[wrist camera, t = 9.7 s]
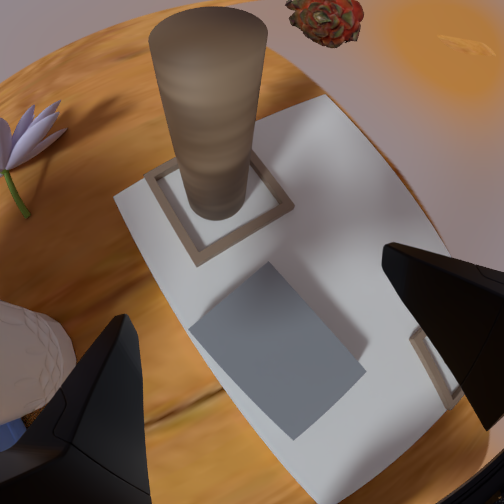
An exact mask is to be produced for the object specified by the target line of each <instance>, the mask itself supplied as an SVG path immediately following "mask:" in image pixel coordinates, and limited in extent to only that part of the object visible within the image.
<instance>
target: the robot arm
mask: <svg viewBox="0 0 504 504" xmlns="http://www.w3.org/2000/svg"><path fill="white" fill-rule="evenodd" d="M381 265H382V269H383V271H384V273H385V275H386V276H387V278H388V279H389V281H390V283H391V284H392V286H393V288H394V289H395V291H396V293H397V294H398V296H399V297H400V299H401V301H402V302H403V303H404V305H405V306H406V308H407V309H408V310H409V312H410V313H411V314H412V316H413V317H414V319H415V320H416V321H417V323H418V324H419V325H420V327H421V328H422V330H423V331H424V333H425V334H426V335H427V337H428V338H429V340H430V341H431V343H432V344H433V346H434V347H435V348H436V350H437V351H438V353H439V354H440V356H441V357H442V359H443V360H444V362H445V364H446V365H447V367H448V368H449V370H450V371H451V373H452V374H453V376H454V377H455V379H456V381H457V382H458V384H459V385H460V386H461V389H462V391H463V392H464V394H465V396H466V397H467V399H468V401H469V402H470V404H471V406H472V407H473V409H474V411H475V413H476V414H477V416H478V418H479V420H480V421H481V423H482V425H483V427H484V428H485V430H486V431H488V430H489V429H490V428H491V427H492V426H494V425H495V424H496V423H497V422H498V421H499V420H500V419H501V418H502V417H503V416H504V272H501V271H497V270H493V269H490V268H486V267H483V266H479V265H474V264H472V263H469V262H465V261H462V260H458V259H455V258H452V257H448V256H445V255H441V254H437V253H434V252H430V251H427V250H423V249H419V248H415V247H412V246H408V245H404V244H400V243H396V242H391V243H388V244H385V245H384V246H383V251H382V262H381ZM0 504H152V501H151V496H150V487H149V479H148V469H147V459H146V446H145V431H144V410H143V377H142V368H141V359H140V350H139V339H138V334H137V332H136V330H135V328H134V326H133V324H132V322H131V320H130V318H129V316H128V315H127V314H121V315H117V316H115V317H114V318H113V319H112V320H111V321H110V323H109V324H108V325H107V326H106V327H105V329H104V330H103V331H102V332H101V334H100V335H99V336H98V338H97V339H96V340H95V341H94V343H93V344H92V345H91V346H90V348H89V349H88V350H87V352H86V353H85V354H84V355H83V357H82V358H81V359H80V361H79V362H78V363H77V365H76V366H75V367H74V369H73V370H72V371H71V373H70V374H69V375H68V377H67V378H66V379H65V381H64V382H63V383H62V385H61V387H60V388H59V389H58V390H57V392H56V393H55V394H54V396H53V397H52V399H51V400H50V401H49V403H48V404H47V405H46V407H45V408H44V409H43V410H42V412H41V413H40V414H39V415H38V417H37V418H36V419H35V420H34V421H33V423H32V424H31V425H30V426H29V427H28V429H27V430H26V431H25V432H24V434H23V435H22V436H21V437H20V439H19V440H18V441H17V442H16V443H15V444H14V445H13V446H12V447H10V448H9V449H7V450H5V451H2V452H0ZM436 504H504V449H503V450H502V451H501V452H499V454H497V455H496V456H495V457H494V458H493V459H492V460H491V461H490V462H489V463H488V464H486V465H485V466H484V467H483V468H482V469H481V470H479V471H478V472H477V473H476V474H475V475H473V476H472V477H471V478H470V479H469V480H467V481H466V482H465V483H463V484H462V485H461V486H460V487H458V488H457V489H456V490H454V491H453V492H451V493H450V494H449V495H447V496H446V497H444V498H443V499H442V500H440V501H439V502H437V503H436Z"/></svg>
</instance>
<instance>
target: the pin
mask: <svg viewBox="0 0 504 504" xmlns="http://www.w3.org/2000/svg"><path fill="white" fill-rule="evenodd" d="M267 36H268V30H267V27H266V25H265V24H264V23H263V21H261V20H260V19H259V18H258V17H256V16H254V15H253V14H251V13H248V12H246V11H243V10H239V9H235V8H229V7H214V6H213V7H200V8H194V9H189V10H185V11H182V12H179V13H176V14H174V15H172V16H170V17H168V18H166V19H164V20H163V21H161V22H160V23H159V24H158V25H157V26H155V28H154V29H153V30H152V31H151V33H150V35H149V41H148V42H149V47H150V51H151V56H152V61H153V65H154V70H155V74H156V78H157V83H158V87H159V91H160V96H161V100H162V104H163V108H164V112H165V116H166V120H167V124H168V128H169V132H170V136H171V140H172V144H173V148H174V151H175V155H176V159H177V163H178V166H179V170H180V174H181V177H182V181H183V184H184V188H185V192H186V195H187V199H188V202H189V205H190V207H191V209H192V210H193V211H194V212H195V213H196V214H197V215H198V216H200V217H202V218H204V219H207V220H211V221H220V220H225V219H228V218H230V217H232V216H233V215H235V214H236V213H237V212H238V211H239V210H240V209H241V207H242V206H243V204H244V201H245V195H246V188H247V180H248V172H249V165H250V157H251V150H252V142H253V135H254V127H255V120H256V113H257V105H258V98H259V91H260V84H261V77H262V70H263V63H264V56H265V50H266V43H267Z"/></svg>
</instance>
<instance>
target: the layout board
mask: <svg viewBox="0 0 504 504" xmlns="http://www.w3.org/2000/svg"><path fill="white" fill-rule="evenodd" d="M143 176H144V178H143V179H141V180H140V181H138V182H136V183H135V184H133V185H131V186H130V187H128V188H126V189H125V190H123V191H121V192H120V193H118V194H117V195H115V196H113V198H114V200H115V202H116V204H117V206H118V209H119V211H120V213H121V215H122V217H123V219H124V221H125V223H126V225H127V227H128V229H129V231H130V233H131V235H132V237H133V239H134V241H135V243H136V245H137V247H138V249H139V250H140V252H141V254H142V256H143V258H144V260H145V262H146V264H147V265H148V267H149V269H150V271H151V273H152V275H153V276H154V278H155V280H156V282H157V283H158V285H159V287H160V289H161V290H162V292H163V294H164V296H165V297H166V299H167V301H168V303H169V304H170V306H171V308H172V309H173V311H174V313H175V314H176V316H177V318H178V319H179V321H180V323H181V324H182V326H183V327H184V329H185V331H186V332H187V334H188V335H189V337H190V339H191V340H192V342H193V343H194V345H195V346H196V348H197V349H198V351H199V353H200V354H201V356H202V357H203V359H204V360H205V362H206V363H207V365H208V366H209V368H210V369H211V371H212V372H213V374H214V375H215V376H216V378H217V379H218V381H219V382H220V384H221V385H222V387H223V388H224V389H225V391H226V392H227V394H228V395H229V396H230V398H231V399H232V401H233V402H234V403H235V405H236V406H237V407H238V409H239V410H240V411H241V413H242V414H243V415H244V417H245V418H246V419H247V421H248V422H249V423H250V425H251V426H252V427H253V429H254V430H255V431H256V432H257V434H258V435H259V436H260V438H261V439H262V440H263V441H264V443H265V444H266V445H267V446H268V448H269V449H270V450H271V451H272V452H273V454H274V455H275V456H276V457H277V458H278V460H279V461H280V462H281V463H282V464H283V466H284V467H285V468H286V469H287V470H288V471H289V473H290V474H291V475H292V476H293V477H294V478H295V479H296V481H297V482H298V483H299V484H300V485H301V486H302V487H303V488H304V489H305V491H306V492H307V493H308V494H309V495H310V496H311V497H312V498H313V499H314V500H315V501H316V502H317V503H318V504H337V503H339V502H340V501H342V500H343V499H345V498H346V497H348V496H349V495H351V494H352V493H354V492H355V491H356V490H358V489H359V488H361V487H362V486H363V485H365V484H366V483H367V482H369V481H370V480H371V479H373V478H374V477H375V476H377V475H378V474H379V473H380V472H382V471H383V470H384V469H385V468H387V467H388V466H389V465H390V464H392V463H393V462H394V461H395V460H396V459H397V458H399V457H400V456H401V455H402V454H403V453H404V452H405V451H406V450H408V449H409V448H410V447H411V446H412V445H413V444H414V443H415V442H416V441H417V440H418V439H419V438H420V437H421V436H422V435H424V434H425V433H426V432H427V431H428V430H429V429H430V428H431V426H432V425H433V424H434V423H435V422H436V421H437V420H438V419H439V418H440V417H441V416H442V415H443V414H444V413H445V412H446V410H452V409H453V407H454V406H455V405H456V404H457V403H458V402H459V400H460V399H461V398H462V397H463V396H464V392H463V391H462V389H461V386H460V385H459V384H458V382H457V381H456V379H455V377H454V376H453V374H452V373H451V371H450V370H449V368H448V367H447V365H446V364H445V363H444V361H443V359H442V357H441V356H440V354H439V353H438V351H437V350H436V348H435V347H434V346H433V344H432V343H431V341H430V340H429V338H428V337H427V335H426V334H425V333H424V331H423V330H422V328H421V327H420V325H419V324H418V323H417V321H416V320H415V319H414V317H413V316H412V314H411V313H410V312H409V310H408V309H407V308H406V306H405V305H404V303H403V302H402V301H401V299H400V297H399V296H398V294H397V293H396V291H395V289H394V288H393V286H392V284H391V283H390V281H389V279H388V278H387V276H386V275H385V273H384V271H383V269H382V265H381V262H382V251H383V246H384V245H385V244H388V243H391V242H396V243H400V244H404V245H408V246H412V247H415V248H419V249H423V250H427V251H430V252H434V253H437V254H441V255H445V256H448V257H451V255H450V253H449V252H448V250H447V248H446V247H445V245H444V243H443V242H442V240H441V238H440V237H439V235H438V234H437V232H436V230H435V229H434V227H433V226H432V224H431V223H430V221H429V220H428V218H427V217H426V215H425V214H424V212H423V211H422V209H421V208H420V206H419V205H418V203H417V202H416V201H415V199H414V198H413V196H412V195H411V194H410V192H409V191H408V189H407V188H406V187H405V185H404V184H403V183H402V181H401V180H400V179H399V177H398V176H397V175H396V174H395V172H394V171H393V170H392V168H391V167H390V166H389V165H388V163H387V162H386V161H385V160H384V158H383V157H382V156H381V155H380V153H379V152H378V151H377V150H376V149H375V147H374V146H373V145H372V144H371V143H370V142H369V140H368V139H367V138H366V137H365V136H364V135H363V134H362V132H361V131H360V130H359V129H358V128H357V127H356V126H355V125H354V124H353V122H352V121H351V120H350V119H349V118H348V117H347V116H346V115H345V114H344V113H343V112H342V111H341V110H340V109H339V108H338V107H337V105H336V104H335V103H334V102H333V101H332V100H331V99H330V98H329V97H328V96H327V95H326V94H324V95H321V96H319V97H316V98H313V99H310V100H308V101H305V102H302V103H300V104H297V105H294V106H292V107H289V108H287V109H284V110H282V111H279V112H277V113H274V114H272V115H269V116H267V117H265V118H262V119H260V120H258V121H255V127H254V135H253V142H252V150H251V157H250V165H249V172H248V180H247V188H246V195H245V201H244V204H243V206H242V207H241V209H240V210H239V211H238V212H237V213H236V214H235V215H233V216H232V217H230V218H228V219H225V220H220V221H211V220H207V219H204V218H202V217H200V216H198V215H197V214H196V213H195V212H194V211H193V210H192V209H191V207H190V205H189V202H188V199H187V195H186V192H185V188H184V184H183V181H182V177H181V174H180V170H179V166H178V163H177V159H176V157H175V158H173V159H171V160H169V161H167V162H165V163H163V164H162V165H160V166H158V167H156V168H155V169H153V170H151V171H149V172H148V173H146V174H144V175H143ZM268 261H269V262H270V263H271V264H272V265H273V266H274V268H275V269H276V270H277V271H278V272H279V273H280V274H281V275H282V276H283V278H284V279H285V280H286V281H287V282H288V283H289V284H290V285H291V287H292V288H293V289H294V290H295V291H296V292H297V293H298V294H299V295H300V297H301V298H302V299H303V300H304V301H305V302H306V303H307V304H308V306H309V307H310V308H311V309H312V310H313V311H314V312H315V313H316V315H317V316H318V317H319V318H320V319H321V320H322V321H323V322H324V324H325V325H326V326H327V327H328V328H329V329H330V330H331V331H332V333H333V334H334V335H335V336H336V337H337V338H338V339H339V340H340V342H341V343H342V344H343V345H344V346H345V347H346V348H347V349H348V351H349V352H350V353H351V354H352V355H353V356H354V357H355V359H356V360H357V361H358V362H359V363H360V364H361V365H362V366H363V368H364V369H365V370H366V371H367V372H366V373H365V374H364V375H363V376H362V377H361V378H360V379H359V380H358V381H357V382H356V383H355V384H354V385H353V386H352V388H351V389H350V390H349V391H348V392H347V393H346V394H345V395H344V396H343V397H342V398H340V399H339V400H338V401H337V402H336V403H335V404H334V405H333V406H332V407H331V408H330V409H329V410H328V411H327V412H326V413H325V414H324V415H323V416H321V417H320V418H319V419H318V420H317V421H316V422H315V423H314V424H312V425H311V426H310V427H309V428H308V429H307V430H306V431H304V432H303V433H302V434H301V435H300V436H299V437H297V438H296V439H295V440H294V441H293V440H292V439H291V438H290V437H289V436H288V435H287V434H286V433H285V432H284V431H283V430H281V429H280V428H279V427H278V426H277V425H276V424H275V423H274V422H273V421H272V420H271V419H270V418H269V417H268V416H267V415H266V414H265V413H264V412H263V411H262V410H261V409H260V408H259V407H258V406H257V405H256V404H255V403H254V402H253V401H252V400H251V399H250V398H249V397H248V396H247V395H246V394H245V393H244V392H243V391H242V390H241V389H240V387H239V386H238V385H237V384H236V383H235V382H234V381H233V380H232V379H231V378H230V377H229V376H228V375H227V374H226V372H225V371H224V370H223V369H222V368H221V367H220V366H219V365H218V364H217V362H216V361H215V360H214V359H213V358H212V357H211V356H210V355H209V353H208V352H207V351H206V350H205V349H204V348H203V347H202V345H201V344H200V343H199V342H198V341H197V340H196V338H195V337H194V336H193V335H192V334H191V332H190V331H189V330H188V329H189V328H190V327H191V326H192V325H194V324H195V323H196V322H197V321H198V320H200V319H201V318H202V317H203V316H204V315H206V314H207V313H208V312H209V311H210V310H212V309H213V308H214V307H215V306H216V305H217V304H219V303H220V302H221V301H222V300H223V299H225V298H226V297H227V296H228V295H229V294H231V293H232V292H233V291H234V290H235V289H236V288H238V287H239V286H240V285H241V284H242V283H244V282H245V281H246V280H247V279H248V278H249V277H251V276H252V275H253V274H254V273H255V272H256V271H258V270H259V269H260V268H261V267H262V266H263V265H265V264H266V263H267V262H268Z"/></svg>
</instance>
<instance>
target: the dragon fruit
mask: <svg viewBox="0 0 504 504" xmlns="http://www.w3.org/2000/svg"><path fill="white" fill-rule="evenodd" d="M285 6H287V8H289V9H290V10H295V12H294V13H293V14H292V16H290V17H289V20H290V23H291V25H292V26H296V27H297V28H299V29H301V31H303V34H304V35H305V36H306V37H307V38H310V39H311V40H312V41H314V42H316V43H318V44H320V45H322V46H326V47H330V48H337V47H339V46H340V45H341V44H342V43H343V42H344V41H346V42H350V41H357V39H358V36H359V32H360V27H361V25H360V23H359V22H361V21H362V19H363V17H364V12H363V9H362V6H361V5H360V3H359V2H358V1H355V0H294V1H291V0H288V1H287V2H286V4H285ZM346 42H345V43H346Z"/></svg>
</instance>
